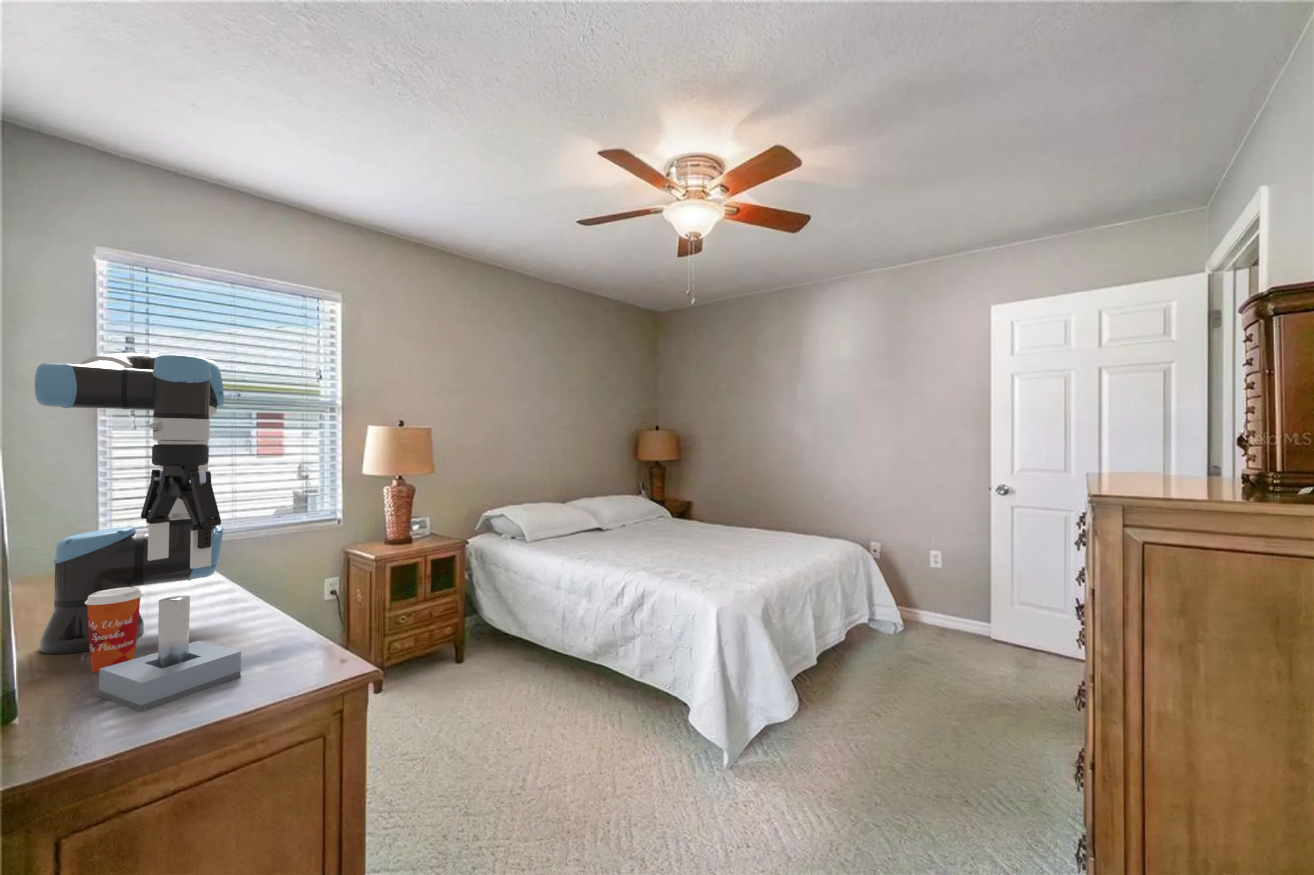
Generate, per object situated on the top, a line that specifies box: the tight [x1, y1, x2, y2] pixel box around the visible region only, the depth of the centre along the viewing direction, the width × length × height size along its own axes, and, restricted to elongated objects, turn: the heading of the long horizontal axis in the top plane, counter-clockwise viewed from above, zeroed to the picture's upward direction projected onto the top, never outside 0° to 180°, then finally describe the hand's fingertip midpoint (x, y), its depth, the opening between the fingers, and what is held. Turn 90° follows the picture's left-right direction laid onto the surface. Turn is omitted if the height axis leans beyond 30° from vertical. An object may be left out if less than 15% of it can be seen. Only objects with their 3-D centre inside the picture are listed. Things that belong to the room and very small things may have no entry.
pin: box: [157, 595, 191, 668], centre depth 92 cm, size 4×4×14 cm
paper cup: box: [85, 586, 144, 673], centre depth 100 cm, size 8×8×14 cm
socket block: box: [98, 640, 242, 713], centre depth 92 cm, size 13×14×4 cm
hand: (178, 563), depth 94 cm, fingers open, 13 cm apart
